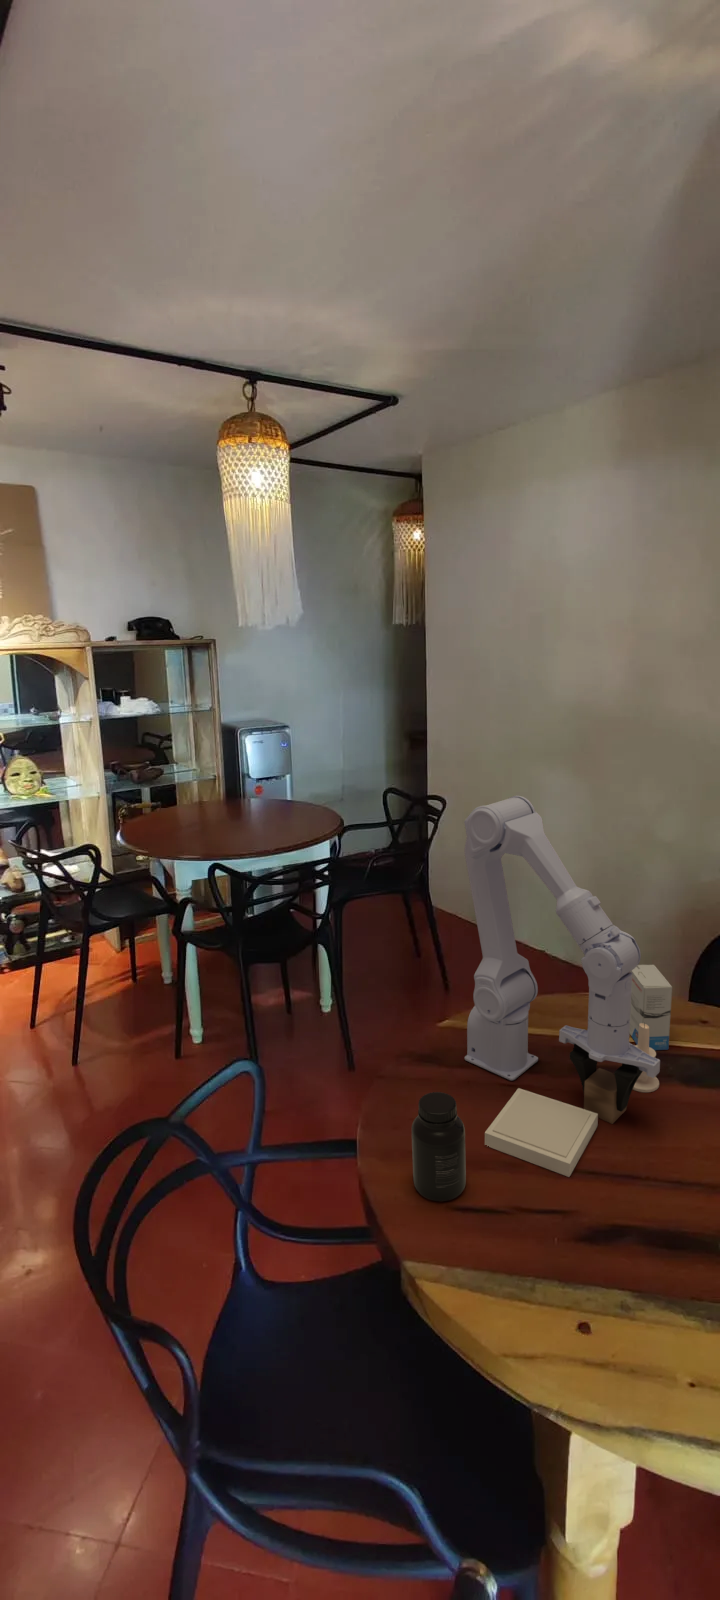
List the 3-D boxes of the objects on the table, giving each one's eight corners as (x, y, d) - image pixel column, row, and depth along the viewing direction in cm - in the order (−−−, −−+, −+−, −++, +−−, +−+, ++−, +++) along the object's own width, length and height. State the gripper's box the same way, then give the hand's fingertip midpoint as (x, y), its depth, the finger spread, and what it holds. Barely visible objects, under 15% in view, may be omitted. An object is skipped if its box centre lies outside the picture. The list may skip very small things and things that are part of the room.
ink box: (669, 1050, 127) (673, 986, 124) (639, 1051, 127) (643, 986, 124) (651, 1024, 135) (654, 963, 132) (623, 1025, 135) (626, 963, 132)
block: (583, 1111, 112) (584, 1081, 111) (598, 1097, 115) (599, 1067, 114) (612, 1124, 109) (613, 1093, 108) (626, 1109, 112) (628, 1079, 111)
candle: (653, 1073, 121) (657, 1013, 118) (663, 1093, 116) (667, 1031, 113) (619, 1072, 121) (622, 1013, 119) (627, 1092, 116) (630, 1030, 114)
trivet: (484, 1145, 106) (484, 1131, 105) (518, 1099, 115) (518, 1086, 115) (569, 1177, 99) (569, 1162, 99) (597, 1126, 109) (598, 1112, 108)
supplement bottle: (470, 1171, 101) (470, 1091, 98) (459, 1208, 95) (459, 1124, 92) (420, 1161, 103) (418, 1082, 100) (406, 1197, 97) (404, 1114, 94)
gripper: (549, 1011, 111) (547, 1093, 114) (646, 1046, 101) (641, 1135, 104) (573, 993, 116) (570, 1072, 119) (668, 1025, 106) (662, 1110, 109)
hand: (605, 1100), depth 112 cm, fingers closed on block, 4 cm apart
